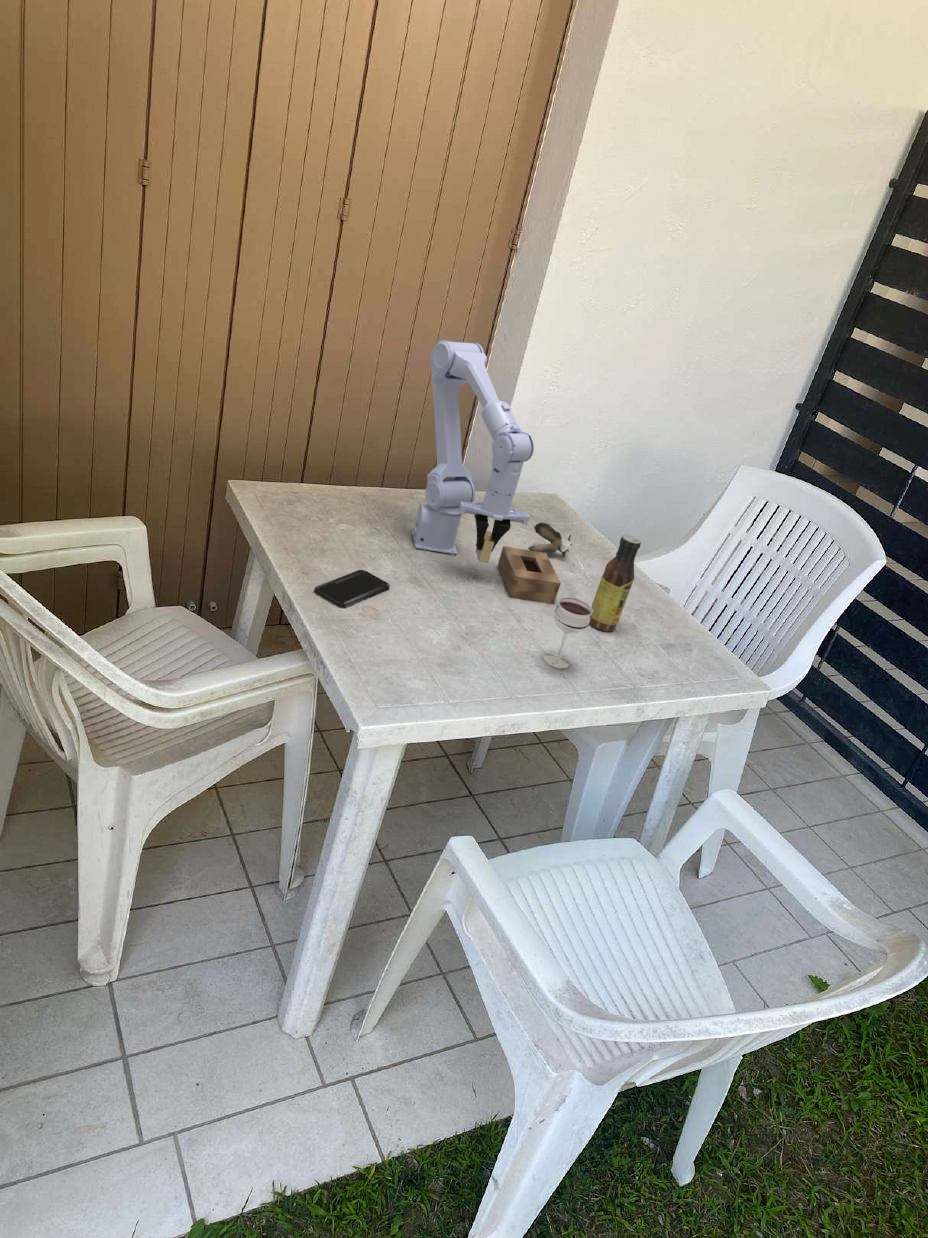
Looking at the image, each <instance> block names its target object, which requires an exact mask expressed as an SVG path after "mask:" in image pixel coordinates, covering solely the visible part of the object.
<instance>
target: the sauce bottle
mask: <svg viewBox="0 0 928 1238" xmlns="http://www.w3.org/2000/svg"><path fill="white" fill-rule="evenodd" d="M641 544H642V541H641V540H640V539H639V538H638V537H636V536H634V535H630V534H623V535H622V536H621V537H620V540H619V546H618V549H617V551H616V553H615V557H613V558H612V559H611V560H610V561H608V562H607V564H606V566H605V568H604V571H603V575H602V576H601V579H600V581H599V584H598V587H597V590H596V592H595V596H594V599H593V601H592V604H591V606H590V607H591V608H592V610H593V613H592V614H591V615H590V622H589V625H590V626H591V627H593V628H595V629H597V630H600V631H603V632H611V631H613V630H615V629H616V627H617V624H618V623H619V622H620V618H621V616H622V613H623V611H624V607H625V605H626V603H627V600H628V597H629V594H630V591H631V588H632V586H633V583H634V580H635V559H636V556H637V553H638V551H639V549H640V548H641Z"/></svg>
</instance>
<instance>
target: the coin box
mask: <svg viewBox="0 0 928 1238" xmlns="http://www.w3.org/2000/svg"><path fill="white" fill-rule="evenodd" d="M499 556H500V557H499V558H498V563H497V569H498V572H499V574H500V577H501V579H502V582H503V585H504V588H505V590H506V593H507V595H508V598H513V599H519V600H525V601H526V600H527V601H531V602H532V601H533V602H537V603H538V602H540V603H544V604H545V603H546V604H552V605H555V602H556V599H557V596H558V593H559V590H560V587H561V584H562V583H561V581H560V579H559V577H558V574H557V573H556V572H557V571H555V569H554V566H553V564H552V562H551V560H550V558H549V556H548V553H545V552H544V553H542V552H536V551H530V550H529V549H524V548H517V547H510V546H505V545H503V546H502V549H501V552H500V555H499Z"/></svg>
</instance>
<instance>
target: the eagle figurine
mask: <svg viewBox="0 0 928 1238" xmlns="http://www.w3.org/2000/svg"><path fill="white" fill-rule="evenodd" d="M533 527H534V532H535V533H536V534H538V535H539V536H541V538H543V539H544V540H546V541H548V542H550V543H541V544H537V545H531V546H529V547H528V550H530V551H536V552H542V553H546V554H555V553H556V552H557V551H559V552H560V553H561V555H562V557H563V558H565V557H566V553H570V551H569V550H570V547H571V546H573V544H572V543H571V537H572V534H569V535H568V537H567V539H565V540H563V541H562V535H561V533H560V532H559V531H557V530H555V528H553V526H551V525H550V524H549V523H546V522H538V523H537V524H535V526H533Z"/></svg>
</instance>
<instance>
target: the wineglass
mask: <svg viewBox="0 0 928 1238" xmlns="http://www.w3.org/2000/svg"><path fill="white" fill-rule="evenodd" d="M557 604H558V605H556V607H555V608H554V611H553V619H554V622H555V623H556V625H557V627H558V628H559V629H560V630H561V631H562V632H563V635H562V639H561V642H560V645H559V648H558V652H557V653H547V654H545V655H544V656H543V660H544V661H545V663H546V664H548V665H550V666H552V667H554V668H557V669H566V668H568V667H569V666H570V662H569V661H568V659H567V658H565V657H564V656H562V655H561V653H562V650H563V649H564V645H565V643H566V641H567V638H568V635H571V634H577V633H579V632H582V631H584V630H585V629H586V628H588V626H589V625H590V623H589V622H590V615H591V614H592V613H593V610H592V608H591V607H592V606H591V605H590V604H588V603H587V602H585V601H583V600H581V599H578V598H575V597H570V596H563V597H560V598H559V599H558V601H557Z"/></svg>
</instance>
